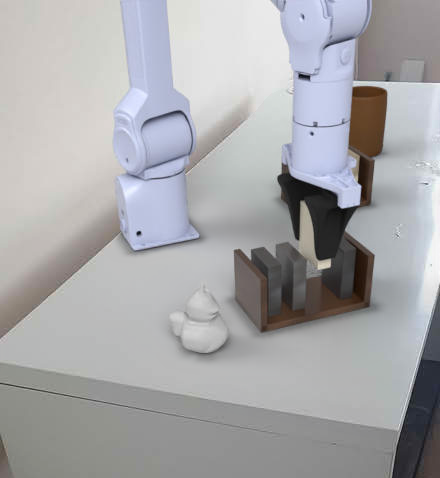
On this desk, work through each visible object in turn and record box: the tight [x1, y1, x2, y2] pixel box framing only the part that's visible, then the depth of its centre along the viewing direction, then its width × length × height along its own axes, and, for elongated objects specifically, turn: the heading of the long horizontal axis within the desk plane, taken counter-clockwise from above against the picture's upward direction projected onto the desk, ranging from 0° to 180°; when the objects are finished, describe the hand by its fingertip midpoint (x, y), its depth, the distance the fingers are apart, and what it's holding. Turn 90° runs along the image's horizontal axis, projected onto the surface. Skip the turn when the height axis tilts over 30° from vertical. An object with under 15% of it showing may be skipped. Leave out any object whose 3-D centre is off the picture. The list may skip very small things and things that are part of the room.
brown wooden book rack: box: [280, 144, 376, 208], centre depth 104 cm, size 11×8×7 cm
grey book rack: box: [233, 230, 376, 333], centre depth 82 cm, size 14×8×7 cm, turn 110°
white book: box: [298, 201, 331, 271], centre depth 79 cm, size 2×5×6 cm, turn 20°
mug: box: [348, 85, 389, 158], centre depth 119 cm, size 12×8×9 cm, turn 75°
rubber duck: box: [168, 281, 230, 354], centre depth 75 cm, size 5×7×8 cm
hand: (315, 248), depth 80 cm, fingers closed on white book, 5 cm apart
